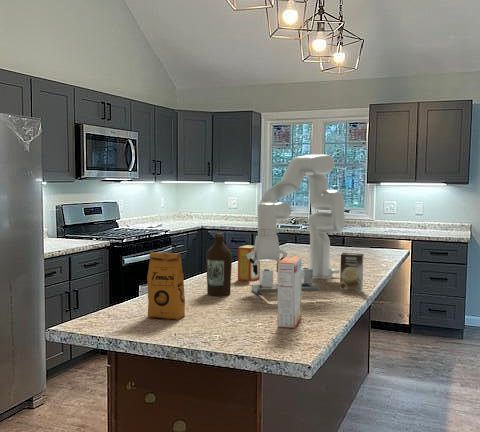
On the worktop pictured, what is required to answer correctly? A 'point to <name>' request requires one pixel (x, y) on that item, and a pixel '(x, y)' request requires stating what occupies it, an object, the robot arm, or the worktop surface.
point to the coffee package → (165, 286)
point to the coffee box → (351, 271)
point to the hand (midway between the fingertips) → (267, 273)
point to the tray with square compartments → (257, 289)
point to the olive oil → (218, 268)
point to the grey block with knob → (266, 278)
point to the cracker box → (289, 292)
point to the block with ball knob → (306, 275)
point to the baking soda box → (246, 264)
